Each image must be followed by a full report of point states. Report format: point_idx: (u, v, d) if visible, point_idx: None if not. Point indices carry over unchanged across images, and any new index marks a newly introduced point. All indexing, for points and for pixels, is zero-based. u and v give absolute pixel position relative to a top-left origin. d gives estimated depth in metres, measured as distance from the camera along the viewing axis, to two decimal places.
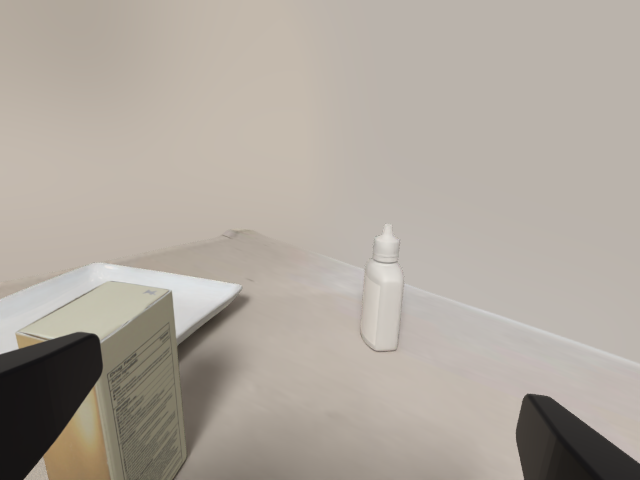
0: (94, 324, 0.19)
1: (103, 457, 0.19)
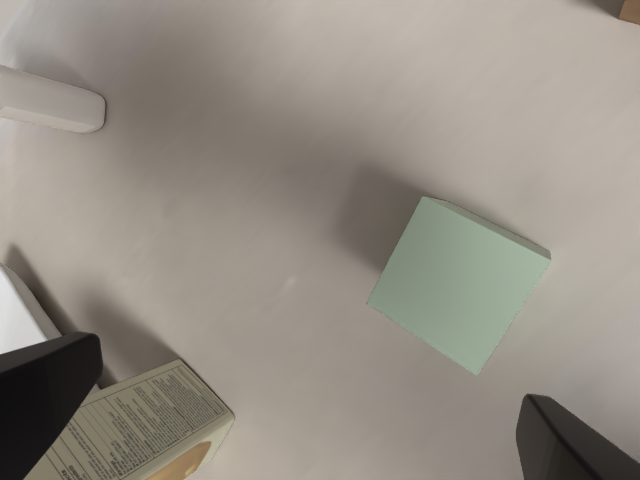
0: None
1: (162, 469, 0.22)
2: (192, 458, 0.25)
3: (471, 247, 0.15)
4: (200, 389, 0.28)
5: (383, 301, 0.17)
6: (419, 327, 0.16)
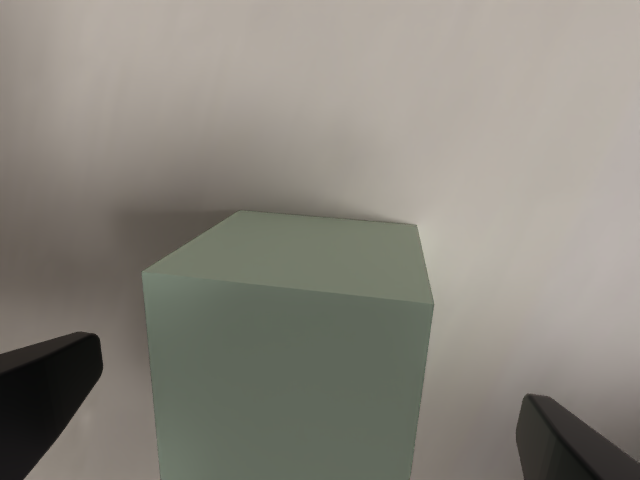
0: None
1: None
2: None
3: (280, 333, 0.07)
4: None
5: (187, 479, 0.08)
6: None
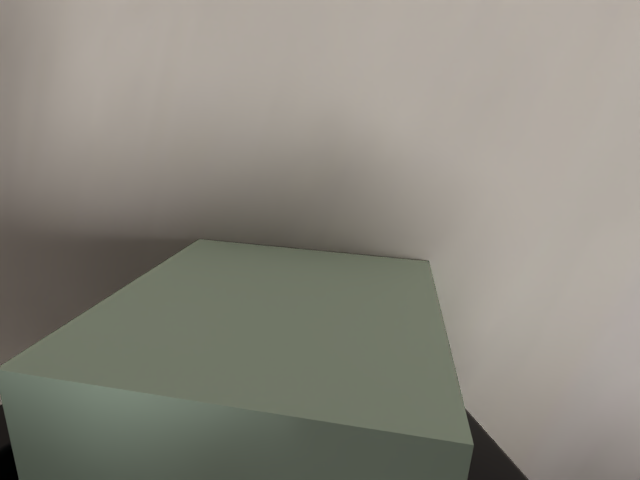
0: None
1: None
2: None
3: (217, 473, 0.04)
4: None
5: None
6: None
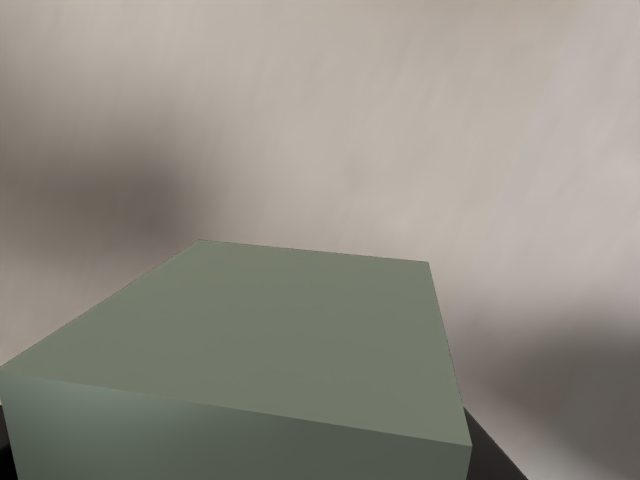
0: None
1: None
2: None
3: (217, 473, 0.04)
4: None
5: None
6: None
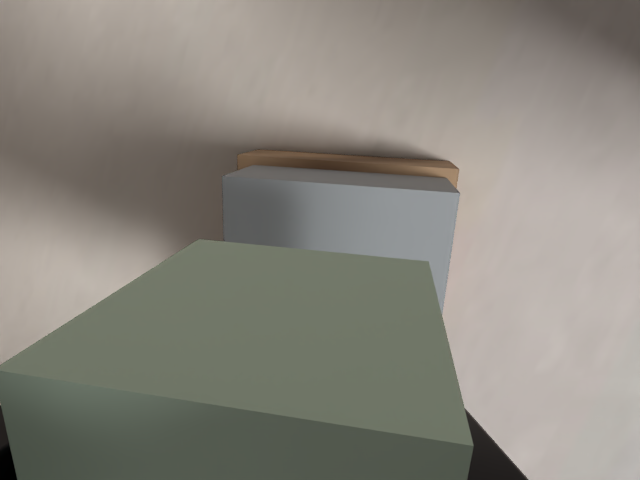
0: None
1: None
2: None
3: (216, 474, 0.04)
4: None
5: None
6: None
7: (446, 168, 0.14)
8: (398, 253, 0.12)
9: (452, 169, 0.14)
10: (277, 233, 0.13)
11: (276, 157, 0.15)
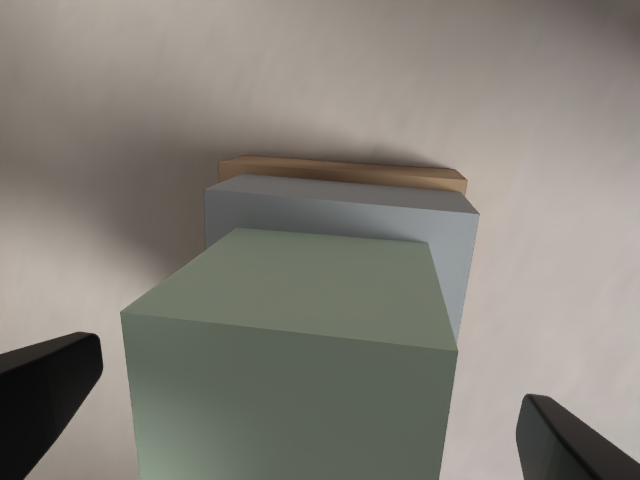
0: None
1: None
2: None
3: (280, 382, 0.06)
4: None
5: None
6: None
7: (453, 179, 0.13)
8: None
9: (460, 180, 0.13)
10: None
11: (262, 165, 0.14)
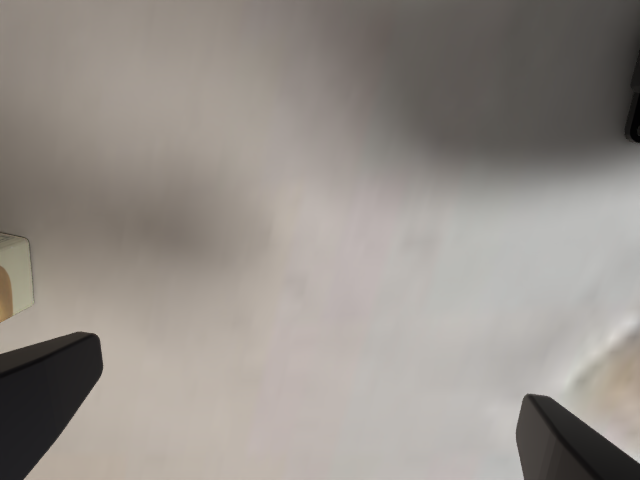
0: None
1: None
2: None
3: None
4: None
5: None
6: None
7: None
8: None
9: None
10: None
11: None
